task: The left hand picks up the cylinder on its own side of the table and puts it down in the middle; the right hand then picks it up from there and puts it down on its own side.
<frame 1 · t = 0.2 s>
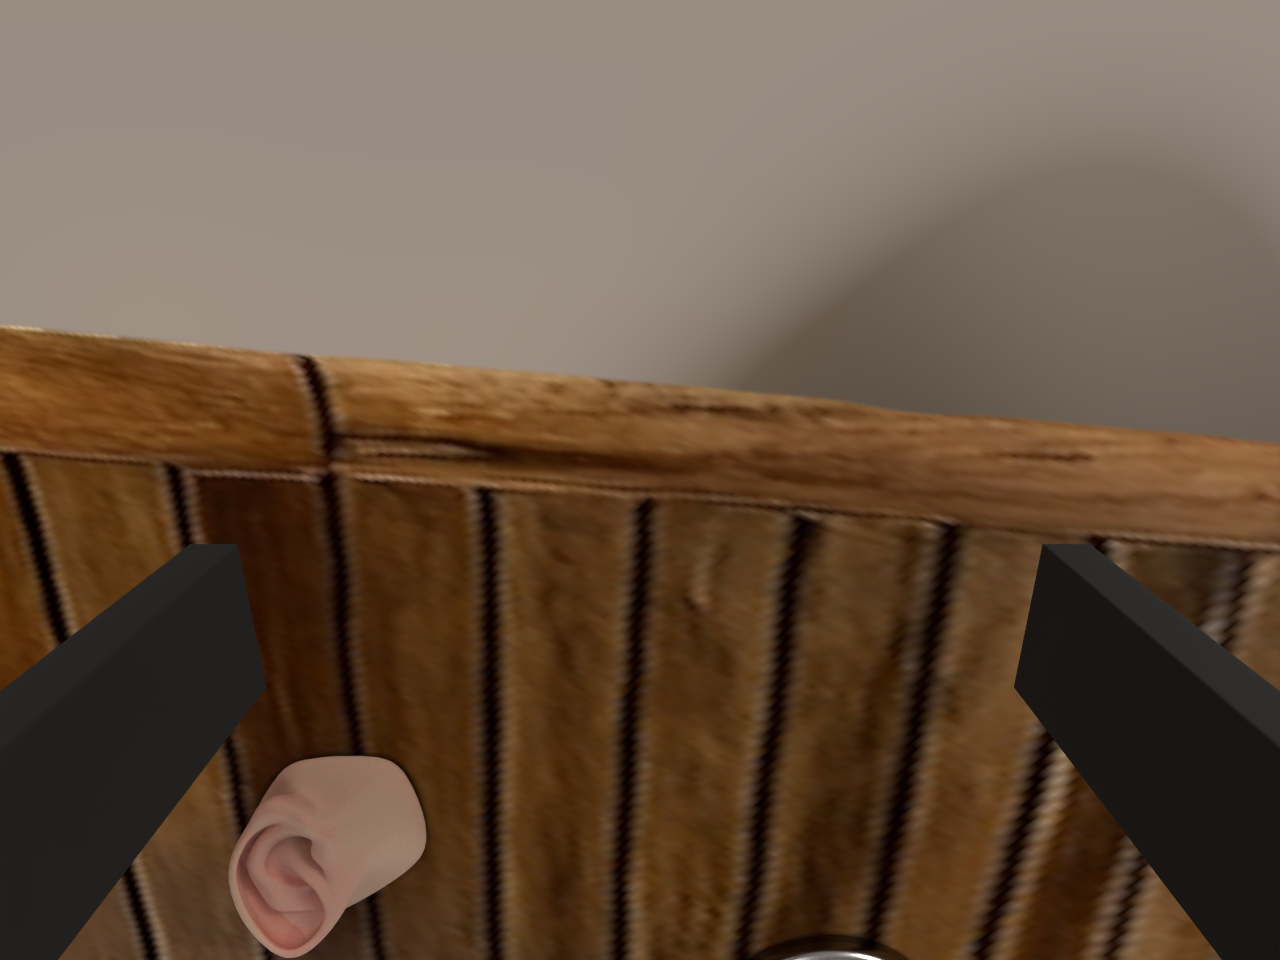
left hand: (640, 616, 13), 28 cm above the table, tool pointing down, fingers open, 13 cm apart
anatomical model: (336, 828, 50), on the table
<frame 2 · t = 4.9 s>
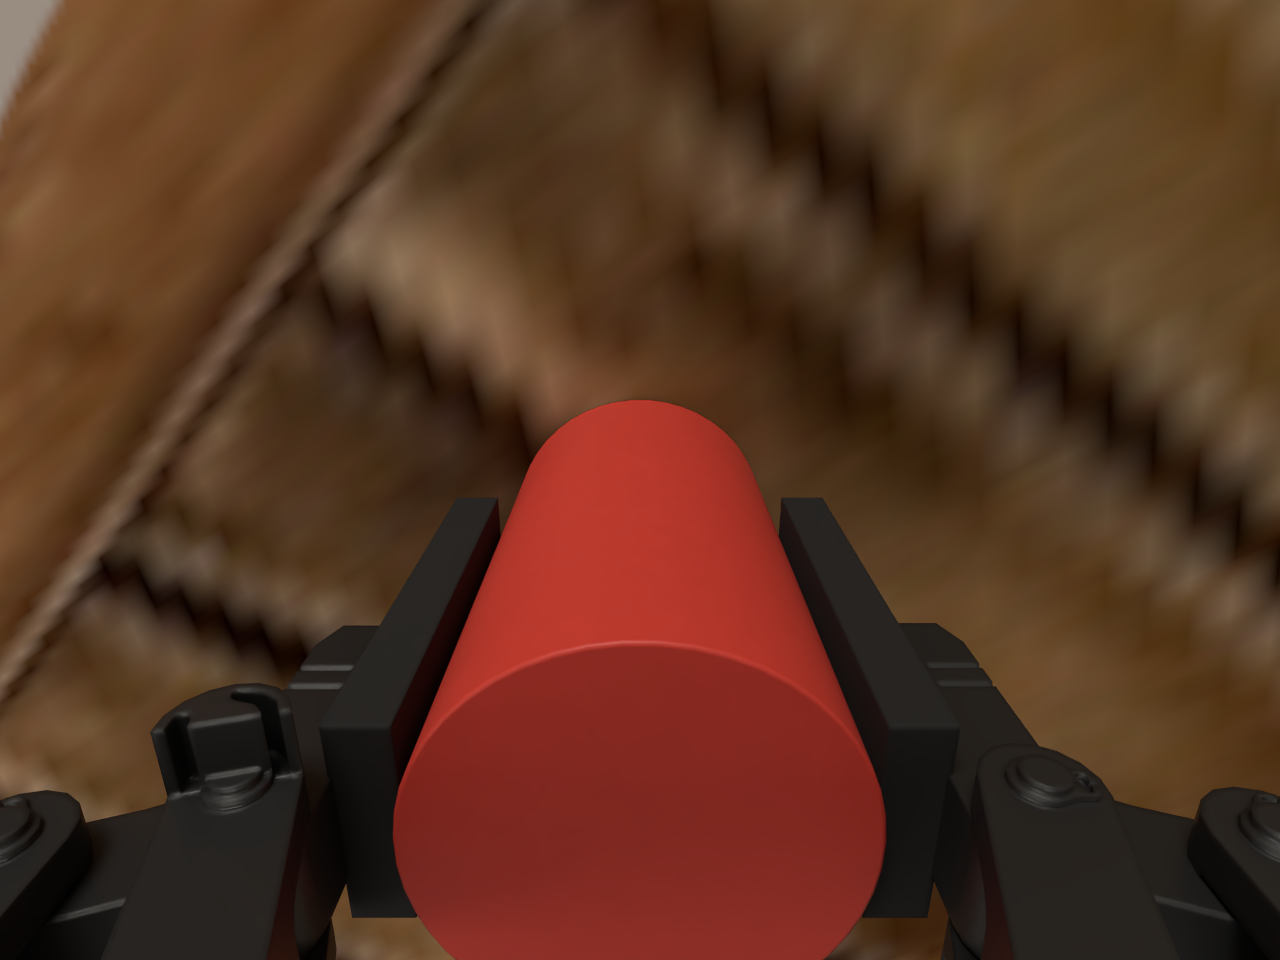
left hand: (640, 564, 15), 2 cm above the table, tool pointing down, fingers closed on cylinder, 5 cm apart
cylinder: (639, 515, 17), on the table, touching left hand
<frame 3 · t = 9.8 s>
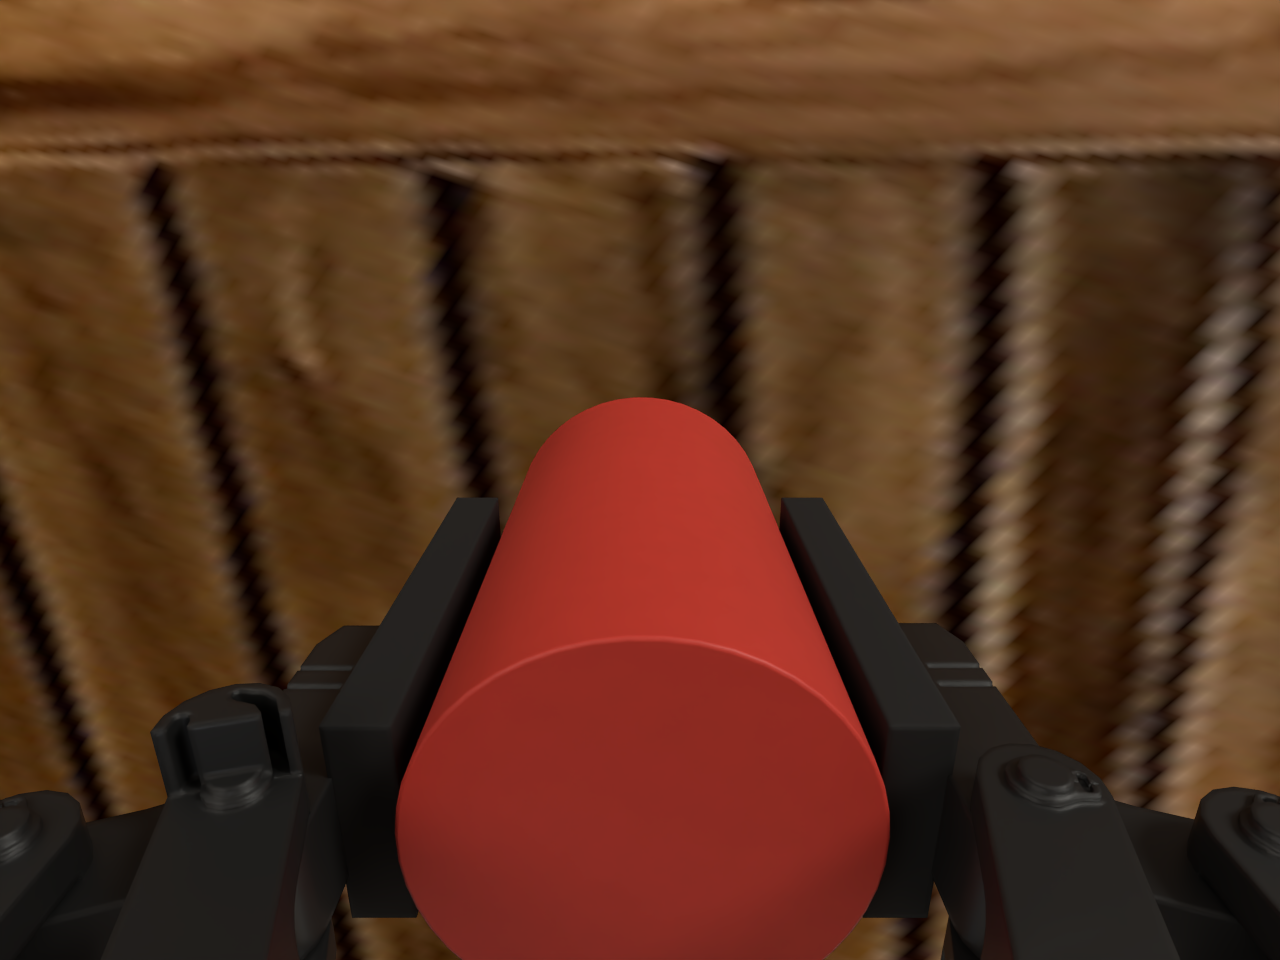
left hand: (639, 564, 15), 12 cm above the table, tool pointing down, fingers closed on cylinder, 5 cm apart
cylinder: (641, 513, 17), point 10 cm above the table, touching left hand
when the left hand's fingers open (4 cm above the table, at t = 15.1 s): cylinder drops 2 cm, on the table.
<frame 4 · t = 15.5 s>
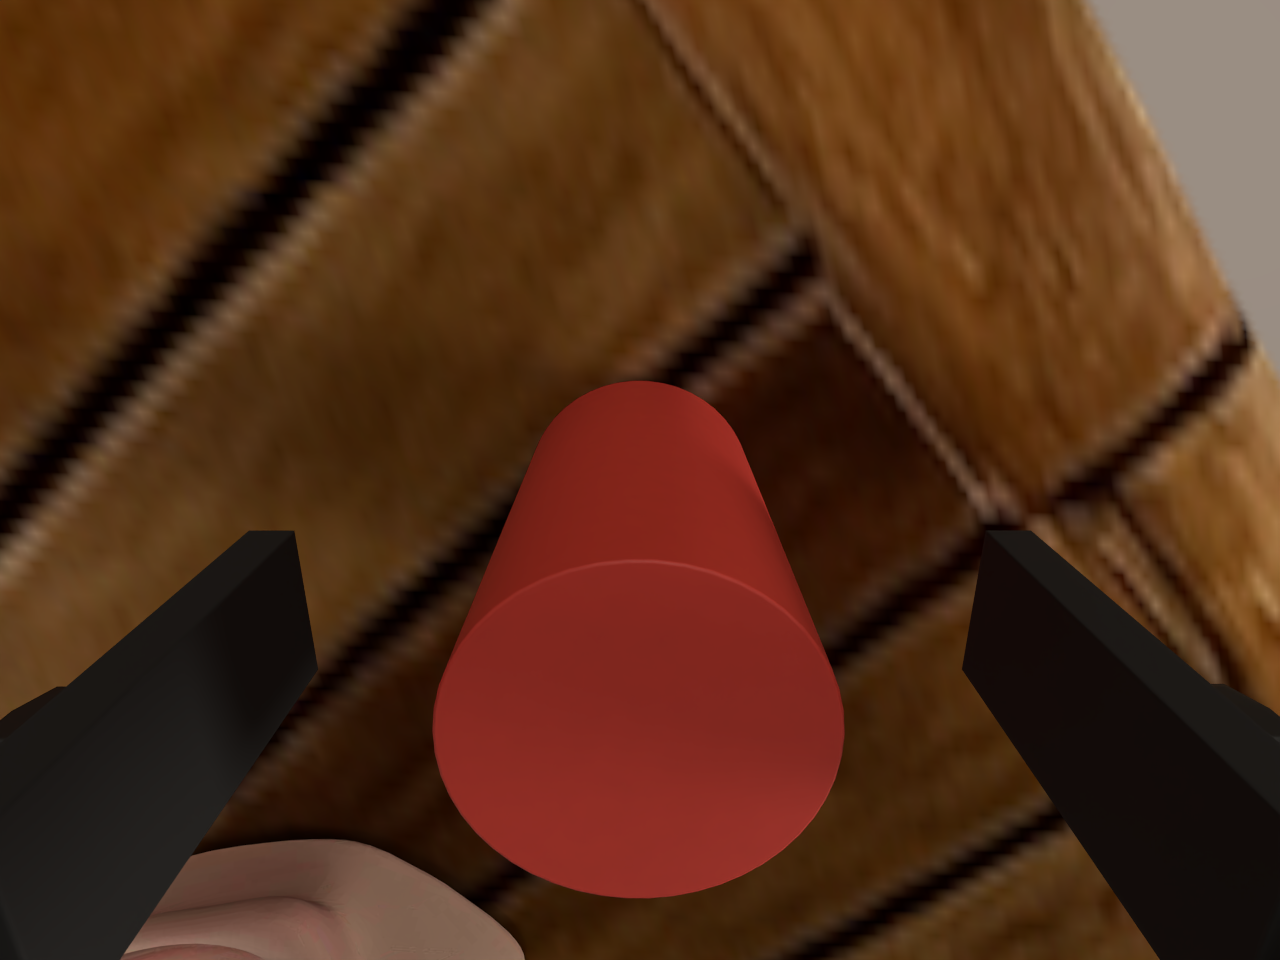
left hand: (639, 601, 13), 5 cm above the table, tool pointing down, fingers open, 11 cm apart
cylinder: (639, 487, 18), on the table
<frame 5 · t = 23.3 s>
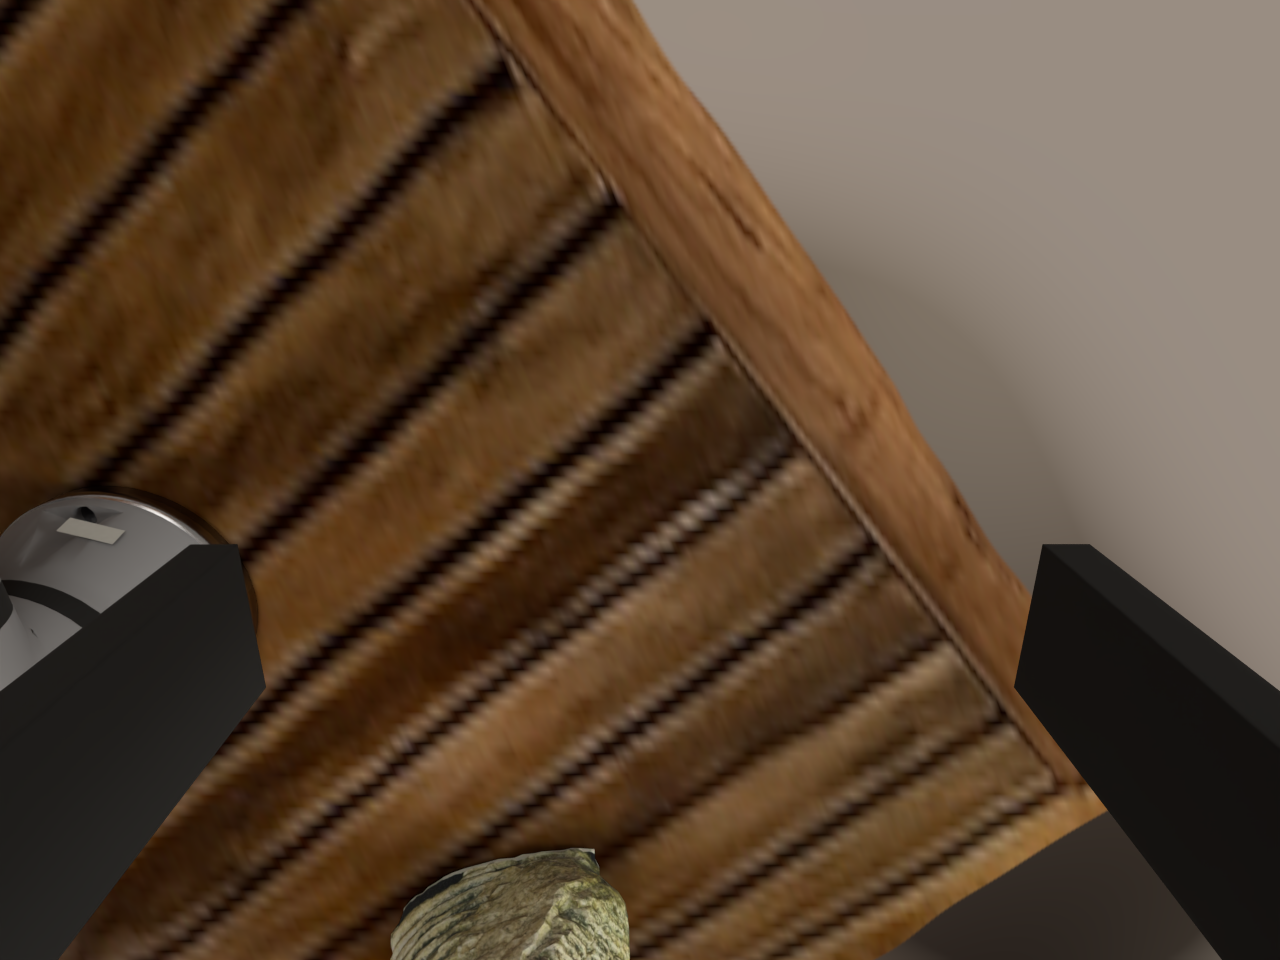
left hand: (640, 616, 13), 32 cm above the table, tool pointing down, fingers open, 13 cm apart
fossil: (514, 890, 57), on the table
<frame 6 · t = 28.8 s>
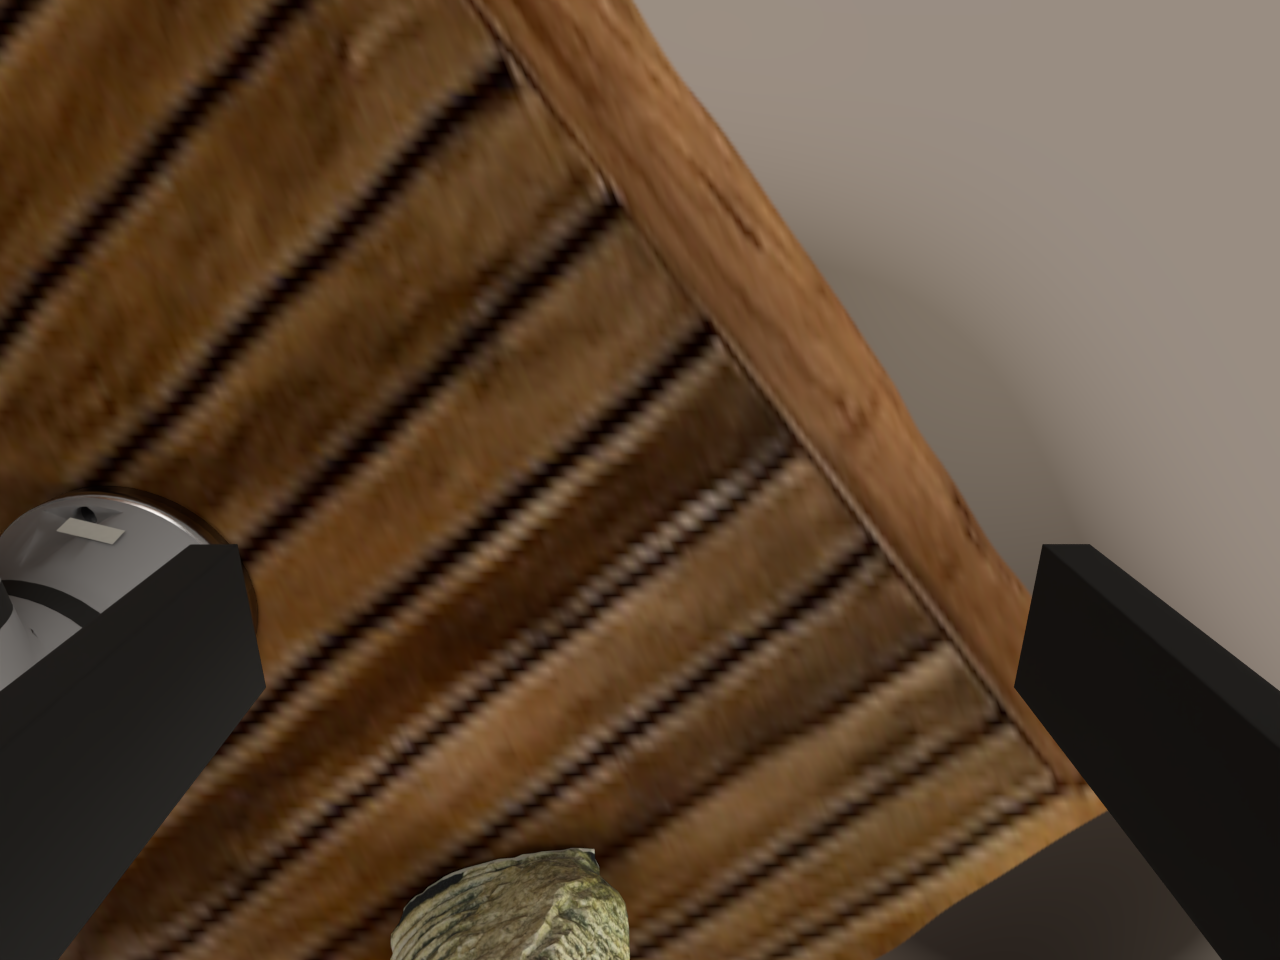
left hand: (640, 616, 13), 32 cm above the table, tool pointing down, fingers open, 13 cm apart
fossil: (514, 890, 57), on the table
when the right hand's fingers open (4 cm above the table, at t = 34.6 s): cylinder drops 2 cm, on the table.
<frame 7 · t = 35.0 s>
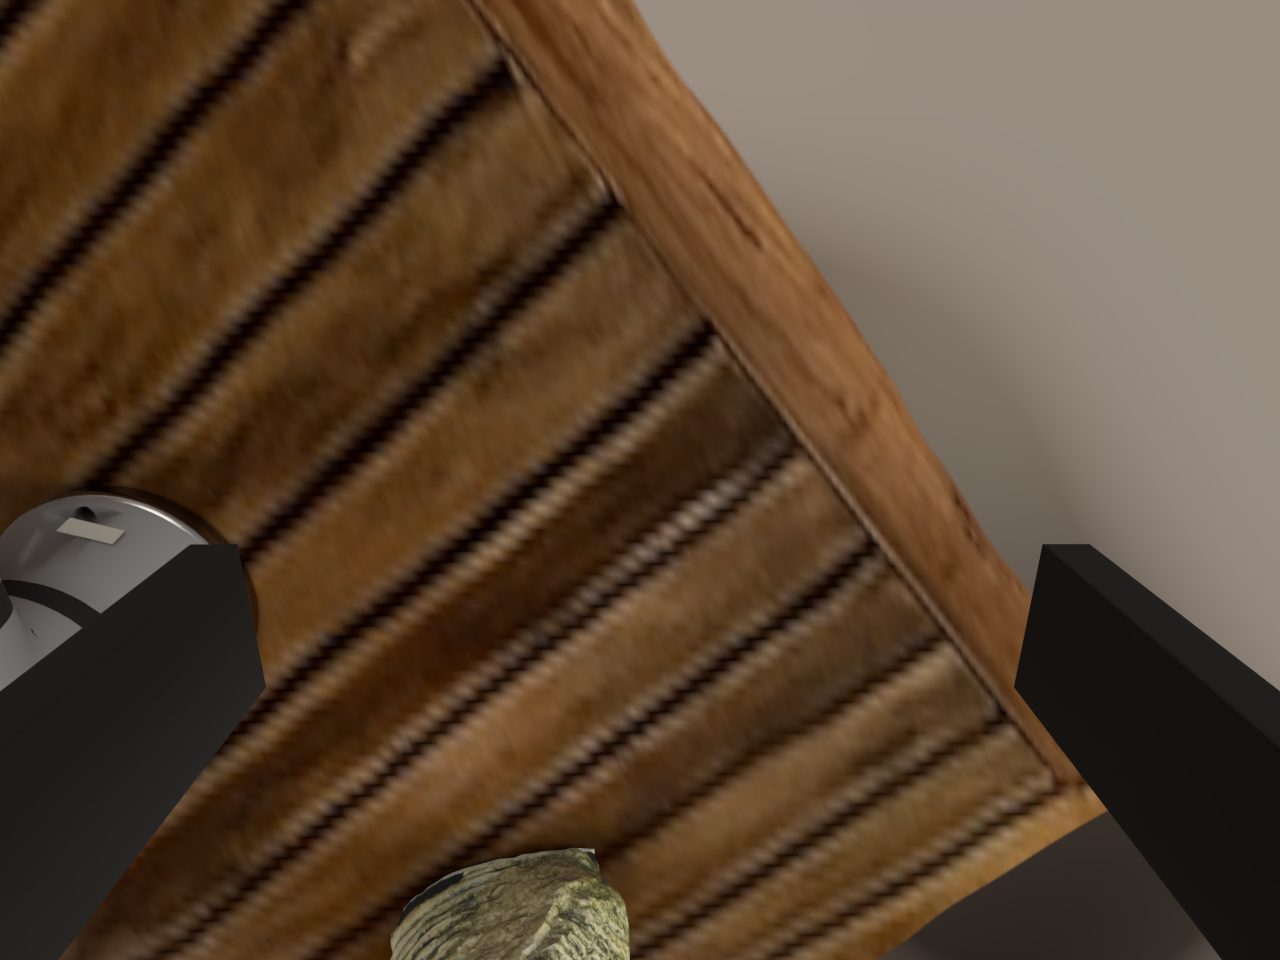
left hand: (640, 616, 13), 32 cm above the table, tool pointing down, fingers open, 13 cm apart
fossil: (514, 890, 57), on the table
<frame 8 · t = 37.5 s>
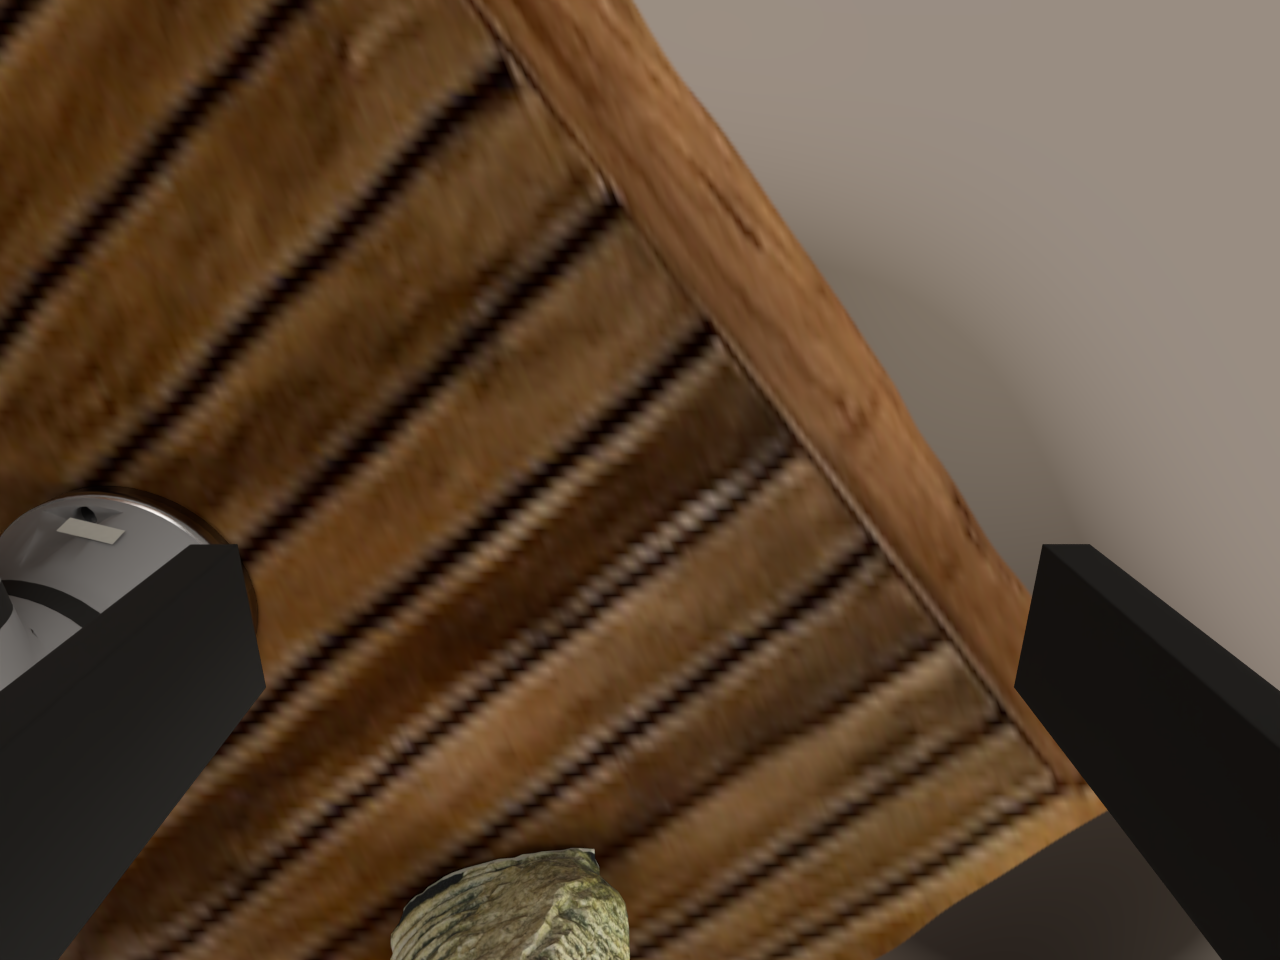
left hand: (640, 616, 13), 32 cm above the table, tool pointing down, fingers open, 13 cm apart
fossil: (514, 890, 57), on the table
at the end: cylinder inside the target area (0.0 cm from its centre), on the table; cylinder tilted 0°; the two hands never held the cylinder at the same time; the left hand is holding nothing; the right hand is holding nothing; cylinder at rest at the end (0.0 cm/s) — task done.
